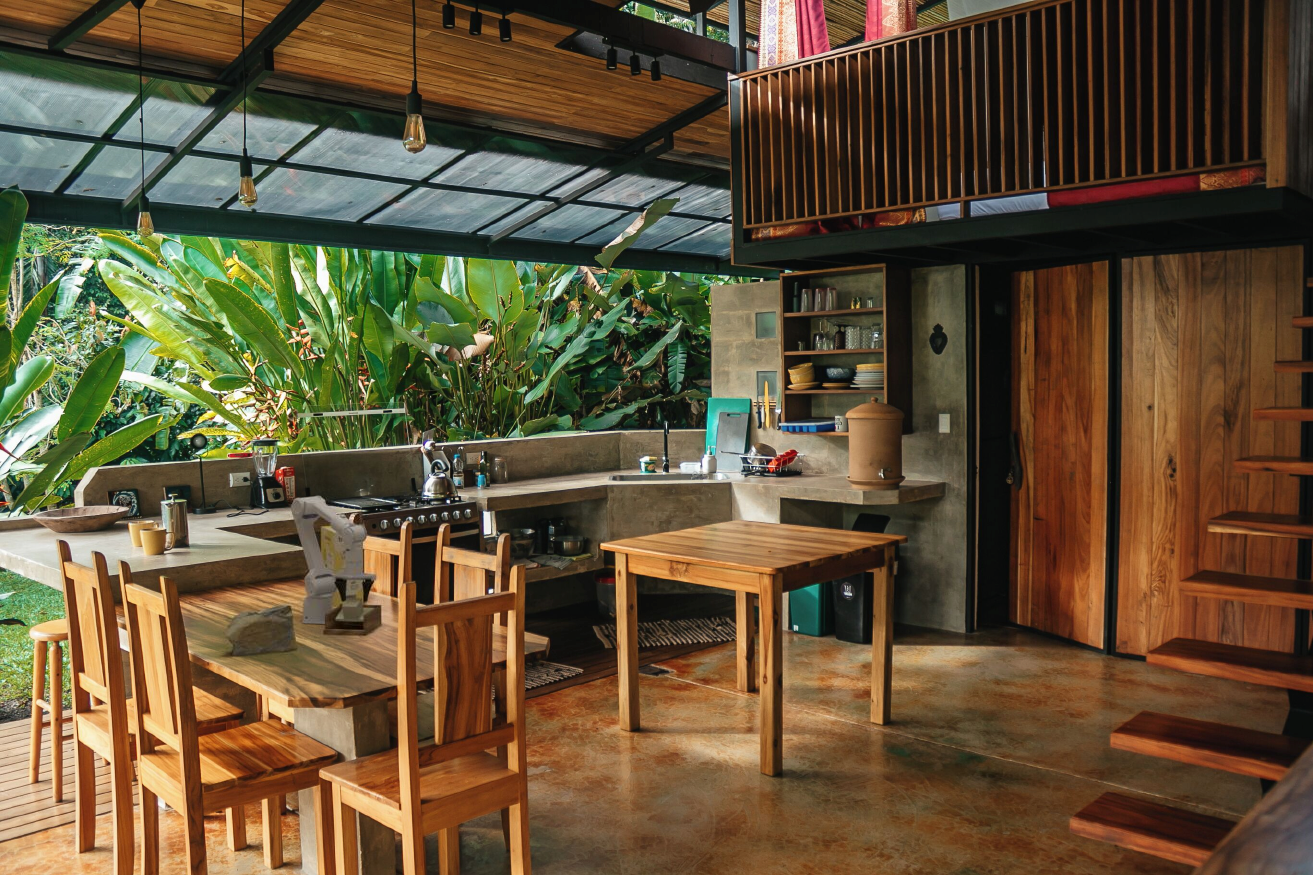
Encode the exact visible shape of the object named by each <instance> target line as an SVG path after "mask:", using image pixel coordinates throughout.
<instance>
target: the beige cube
mask: <svg viewBox="0 0 1313 875" xmlns="http://www.w3.org/2000/svg"><path fill="white" fill-rule="evenodd" d="M363 604H364V602H363V603H362V598H347V599H346V601H345V602H344V604H343V605H342V610H343V616H344V619H359V618H360V616H361V614H362V613H363V611H364V609H363Z"/></svg>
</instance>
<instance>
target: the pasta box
mask: <svg viewBox="0 0 1313 875" xmlns="http://www.w3.org/2000/svg"><path fill="white" fill-rule="evenodd" d="M320 551H321V554H322V558H323V561H324V565H325V567H326V568H328V569H330V570H331V571H332V572H333V574H334V573H346V549H345V548H344V542H343V540H342V537H341V535H340V534H339V533H337V532H336V531H335V530H333V529H332V528H331V526H330V525H325V526H324V525H323V526H320ZM363 581H364V580H347V584H346V599H347V598H362V603H363V604H364V602H363V586H362V582H363ZM345 601H346V600H345ZM345 601H341V597H340V593H339V591H338V589H337V591H336V592H335V593H334V595H333V608H337V607H339V605H340V604H344V602H345Z"/></svg>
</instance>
